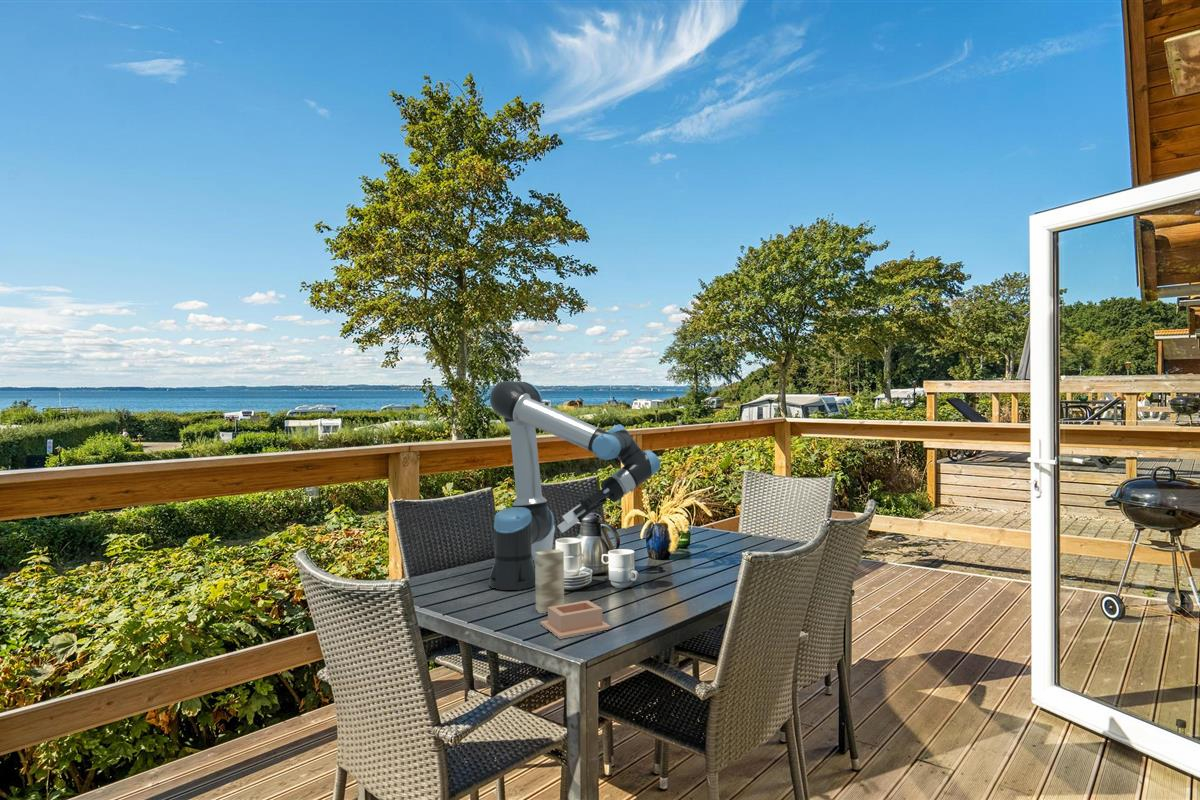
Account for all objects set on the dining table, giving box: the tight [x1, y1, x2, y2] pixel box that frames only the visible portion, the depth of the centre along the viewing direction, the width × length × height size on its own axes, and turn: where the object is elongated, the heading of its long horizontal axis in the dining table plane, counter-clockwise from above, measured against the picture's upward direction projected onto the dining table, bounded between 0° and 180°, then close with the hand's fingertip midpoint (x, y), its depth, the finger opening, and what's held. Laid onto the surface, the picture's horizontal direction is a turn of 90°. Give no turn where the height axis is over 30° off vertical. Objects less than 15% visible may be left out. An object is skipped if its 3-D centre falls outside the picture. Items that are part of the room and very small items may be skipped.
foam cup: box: [532, 524, 556, 561], centre depth 230 cm, size 10×9×13 cm
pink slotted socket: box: [539, 600, 612, 638], centre depth 161 cm, size 14×12×5 cm
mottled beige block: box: [534, 548, 565, 614], centre depth 175 cm, size 7×4×16 cm, turn 118°
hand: (562, 525), depth 190 cm, fingers open, 13 cm apart
